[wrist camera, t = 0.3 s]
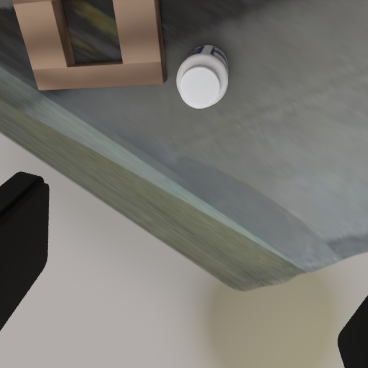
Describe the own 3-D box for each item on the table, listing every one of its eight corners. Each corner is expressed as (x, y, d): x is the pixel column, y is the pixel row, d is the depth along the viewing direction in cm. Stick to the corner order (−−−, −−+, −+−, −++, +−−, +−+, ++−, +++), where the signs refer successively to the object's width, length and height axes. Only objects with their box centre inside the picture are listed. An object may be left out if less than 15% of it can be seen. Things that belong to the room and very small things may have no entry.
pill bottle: (183, 88, 41) (170, 112, 33) (185, 42, 39) (172, 56, 30) (226, 92, 41) (224, 118, 33) (232, 46, 38) (231, 61, 30)
